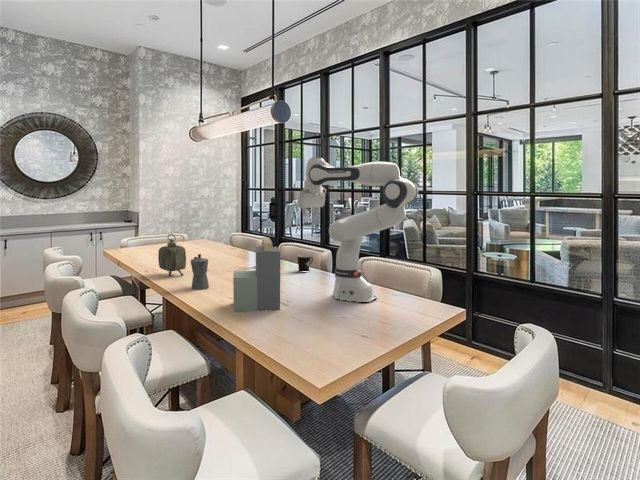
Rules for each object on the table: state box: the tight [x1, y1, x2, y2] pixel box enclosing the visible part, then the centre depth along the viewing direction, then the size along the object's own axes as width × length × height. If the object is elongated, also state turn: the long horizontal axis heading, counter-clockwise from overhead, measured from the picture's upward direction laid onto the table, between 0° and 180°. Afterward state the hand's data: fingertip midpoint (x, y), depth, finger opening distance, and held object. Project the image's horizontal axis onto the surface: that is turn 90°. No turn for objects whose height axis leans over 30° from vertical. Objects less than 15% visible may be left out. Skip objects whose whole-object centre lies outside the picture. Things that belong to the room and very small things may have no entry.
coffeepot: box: [190, 253, 210, 291], centre depth 211 cm, size 15×9×18 cm, turn 34°
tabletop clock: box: [157, 233, 187, 277], centre depth 236 cm, size 14×9×25 cm, turn 58°
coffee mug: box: [297, 254, 314, 272], centre depth 256 cm, size 12×9×10 cm
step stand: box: [232, 246, 281, 313], centre depth 179 cm, size 14×20×26 cm
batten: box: [261, 236, 274, 251], centre depth 183 cm, size 20×4×4 cm, turn 11°
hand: (309, 215), depth 208 cm, fingers open, 8 cm apart
